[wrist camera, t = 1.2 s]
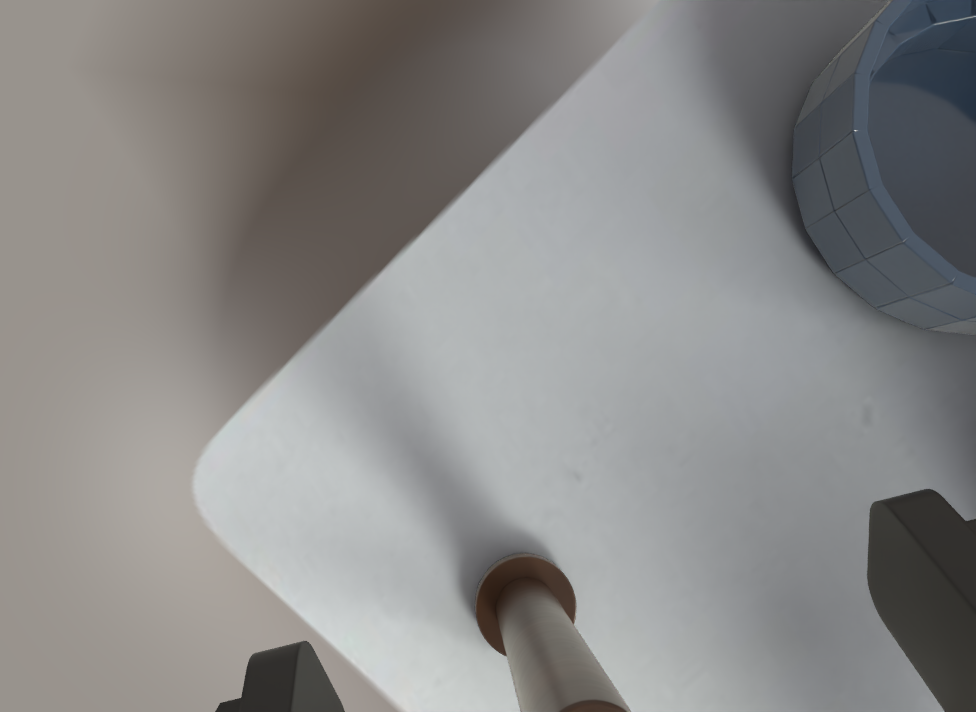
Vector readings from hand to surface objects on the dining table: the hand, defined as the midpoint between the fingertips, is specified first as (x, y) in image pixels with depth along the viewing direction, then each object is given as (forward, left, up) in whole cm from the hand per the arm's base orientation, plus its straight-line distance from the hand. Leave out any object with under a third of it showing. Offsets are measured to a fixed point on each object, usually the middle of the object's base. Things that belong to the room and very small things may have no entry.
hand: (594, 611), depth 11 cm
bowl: (+5, +24, -21) cm, 32 cm away
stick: (+3, -2, -21) cm, 22 cm away
